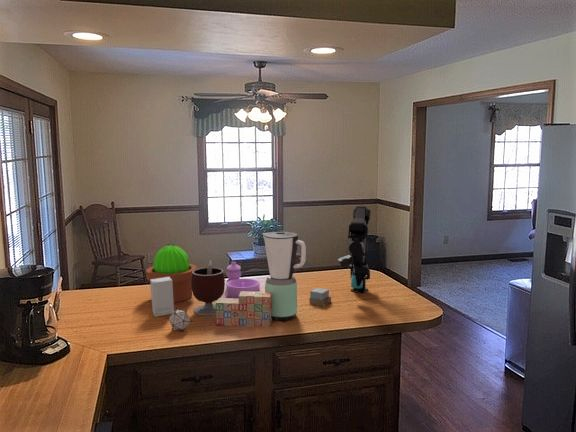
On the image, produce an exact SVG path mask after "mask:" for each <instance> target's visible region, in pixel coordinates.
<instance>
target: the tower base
mask: <svg viewBox="0 0 576 432" xmlns="http://www.w3.org/2000/svg"><path fill="white" fill-rule="evenodd" d="M331 303H332V296H331V295H329V297H327V298H325V299H323V300H320V299H315V298H310V297H309V304H311V305H315V306H319V307H325V306H327V305H328V304H331Z"/></svg>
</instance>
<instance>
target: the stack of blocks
mask: <svg viewBox="0 0 576 432" xmlns="http://www.w3.org/2000/svg"><path fill="white" fill-rule="evenodd" d="M215 305H216V315H215V325H216V326H227V327H228V326H231V327H232V326H233V327H255V328H257V327H259V328H270V327H271V324H272V323H273V322H272V320H273V319H272V315H271V314H272V293H271V292H265V291H260V292H245V291H241V292H240V295H239V299H234V298H227V297H221V298H219V299H218V300H216V301H215Z"/></svg>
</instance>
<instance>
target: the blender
mask: <svg viewBox="0 0 576 432" xmlns="http://www.w3.org/2000/svg"><path fill="white" fill-rule="evenodd" d="M261 234H262V237H263V240H264V246H265V247H264V248H265V254H266V259H267V266H268V272H269V275H268V276H267V277H266V280H265V284H264V292H271V293H272V314H271V315H272V320H273V319H274V320H282V321H283V322H289V319H292V318H294V317H295V316H296V315H297V313H298V283H297V279H296V277H295V276H294V270H295V269H301V268H302V267H304V266H305V263H306V258H307V248H306V246H307V245H306V243H305V242H304V240H300V239H299V235H298V233H296V232H291V231H272V232H271V231H270V232H262V233H261ZM299 245H300V247H301V249H300V250H301V251H300V262H299V263H296V261H297V254H298V253H297V251H298V246H299Z"/></svg>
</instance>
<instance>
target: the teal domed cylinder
mask: <svg viewBox="0 0 576 432" xmlns="http://www.w3.org/2000/svg"><path fill="white" fill-rule="evenodd" d="M350 280H351V281H350V283H351V284H350V287H351V288H352V289H353V288H362V287H363V280H362V282H361V284H360V286H357V283H356V276H355V274H354V275H351V274H350Z"/></svg>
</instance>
